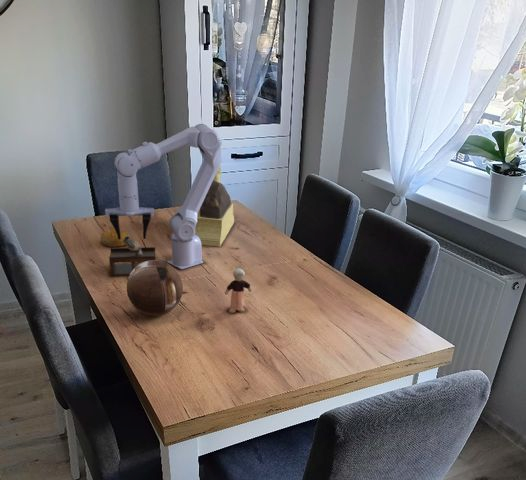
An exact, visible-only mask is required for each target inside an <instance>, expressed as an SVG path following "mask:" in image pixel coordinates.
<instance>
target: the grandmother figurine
mask: <svg viewBox="0 0 526 480" xmlns="http://www.w3.org/2000/svg"><path fill="white" fill-rule="evenodd" d="M232 275H233V278H234V280H232V281H230V283H229V284H228V286H226V288H225V291H224V295H226V296H227V295H229V293H230V291H231V290H232V291H231V295H230V305H229V307H230V308H229V310H228V312H229V313H230V314H234V313H236V312H239V313H243V312H245V311H246V310H245V307H244V306H245V289H247V291H248V292H249V293H252V291H253V289H252V287H251V284H250V283H249V282H248V281H246V280H244V278H245V276H246V272H245V271H244V270H243V269H242V268H240V267H239V268H236V269H234V270H233V272H232Z"/></svg>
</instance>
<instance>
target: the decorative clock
mask: <svg viewBox="0 0 526 480" xmlns="http://www.w3.org/2000/svg"><path fill="white" fill-rule="evenodd" d="M221 167H222V163H221V164H220V166H219V169H218V171H217V173H216V175H215V177H214V179H213V181H212V184H211V186H210V188H209V190H208V192H207V194H206V196H205V199H204V201H203V203H202V205H201V207H200V209H199V211H198V214H197V224H196V227H195V235H197V236H198V237H199V238H200V241H201V245H202V246H207V247H218V248H219V247H221V246H222V244H223V242H224V240H225V239H226V237H227V236H228V234H229V232H230V230H231V229H232V227H233V225H234V224H235V215H234V202H232V200H231V196H230V194H229V193H228V191H227V189H226V187H225V186H224V185H223V183H221V175H222V174H221V173H222V172H221V171H222V169H221Z"/></svg>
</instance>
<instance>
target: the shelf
mask: <svg viewBox="0 0 526 480" xmlns="http://www.w3.org/2000/svg"><path fill="white" fill-rule="evenodd" d="M139 247H140V246H139ZM140 248H141V251H142V253H143V254H142V255H139V254H136V253H135V251H131V250H129V249H128V247H110V253H109V256H108V262H109V268H110V269H109V271H110V277H129V275H130V273H131V272H132V270H133V269H134V268H135V267H136V266H138V265H139V264H140V263H143V262H145V261H150V260H157V258H156V256H157V255H156V247H155V246H148V247H147V246H144V247H143V246H142V247H140ZM138 255H139V256H138ZM118 263H119V264H118Z"/></svg>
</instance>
